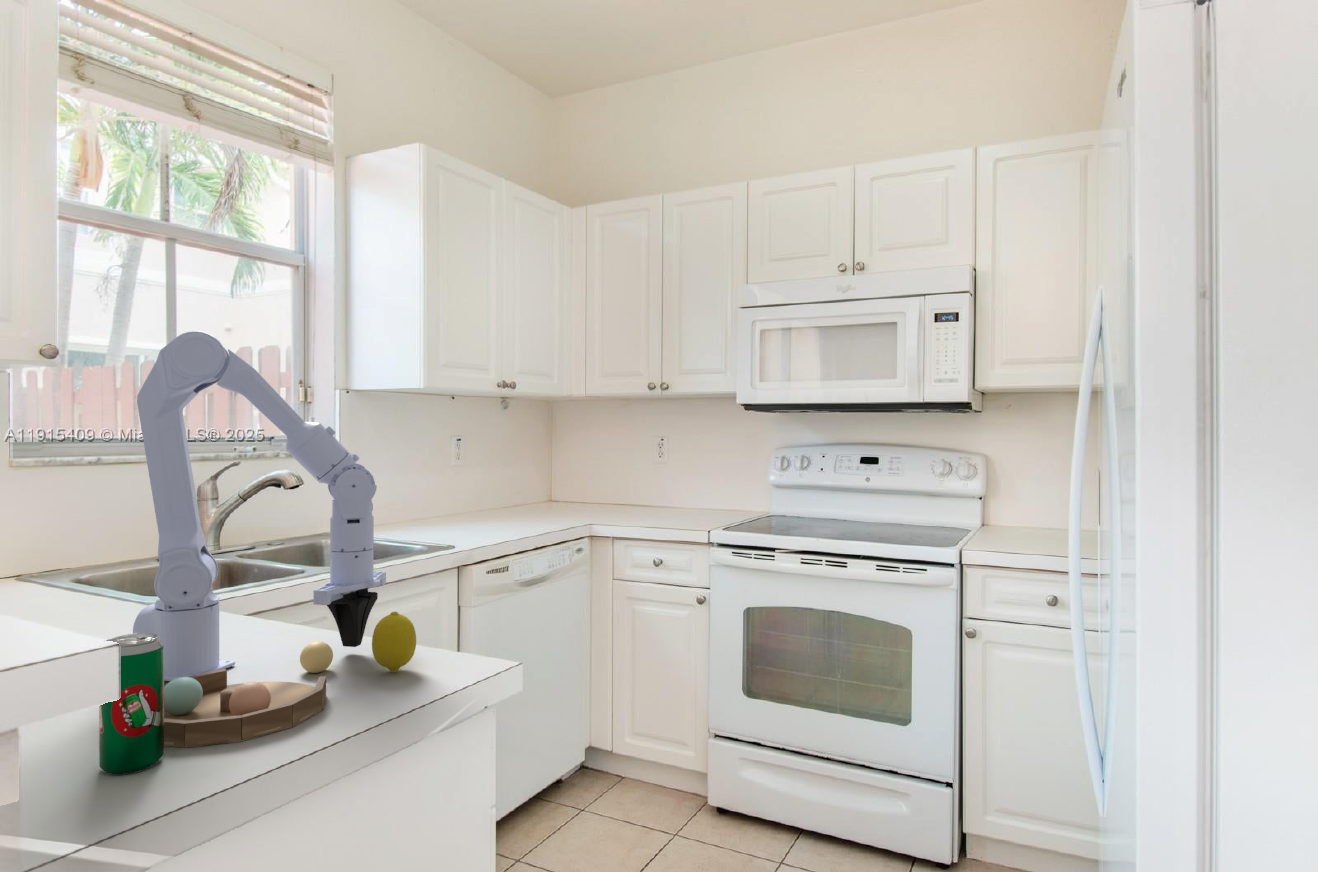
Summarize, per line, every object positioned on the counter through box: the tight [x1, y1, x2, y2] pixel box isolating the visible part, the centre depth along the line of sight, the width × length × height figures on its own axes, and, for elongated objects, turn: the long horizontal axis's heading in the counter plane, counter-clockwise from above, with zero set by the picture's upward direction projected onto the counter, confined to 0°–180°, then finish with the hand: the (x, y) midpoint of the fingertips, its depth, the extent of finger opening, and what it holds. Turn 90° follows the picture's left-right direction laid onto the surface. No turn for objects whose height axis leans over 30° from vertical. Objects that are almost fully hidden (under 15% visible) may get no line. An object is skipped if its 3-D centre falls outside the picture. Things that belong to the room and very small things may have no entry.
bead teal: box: [164, 677, 203, 715], centre depth 85 cm, size 4×4×4 cm
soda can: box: [98, 633, 165, 776], centre depth 73 cm, size 5×5×12 cm
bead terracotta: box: [229, 681, 271, 716], centre depth 84 cm, size 4×4×4 cm
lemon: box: [371, 611, 417, 673], centre depth 102 cm, size 6×6×8 cm
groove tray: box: [164, 668, 327, 749], centre depth 87 cm, size 19×19×2 cm
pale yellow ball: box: [299, 640, 334, 674], centre depth 102 cm, size 4×4×4 cm
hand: (351, 645), depth 109 cm, fingers closed
